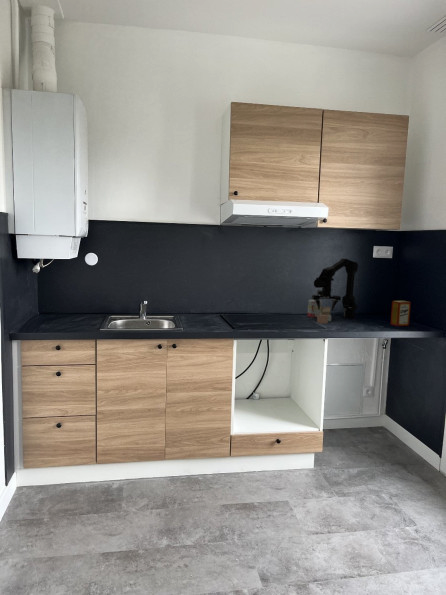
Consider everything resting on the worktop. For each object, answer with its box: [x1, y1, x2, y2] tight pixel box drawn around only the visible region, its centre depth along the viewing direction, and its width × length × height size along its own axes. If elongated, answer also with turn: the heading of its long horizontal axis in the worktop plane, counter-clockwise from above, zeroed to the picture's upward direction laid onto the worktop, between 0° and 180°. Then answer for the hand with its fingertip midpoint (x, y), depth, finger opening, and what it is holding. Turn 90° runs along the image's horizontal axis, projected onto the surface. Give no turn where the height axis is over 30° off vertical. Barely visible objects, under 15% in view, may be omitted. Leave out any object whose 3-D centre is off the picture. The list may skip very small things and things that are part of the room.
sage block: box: [319, 314, 332, 322], centre depth 308 cm, size 7×7×4 cm
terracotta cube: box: [316, 315, 329, 324], centre depth 296 cm, size 5×5×5 cm
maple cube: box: [321, 306, 331, 315], centre depth 307 cm, size 5×5×5 cm
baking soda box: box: [390, 300, 412, 327], centre depth 296 cm, size 10×6×16 cm
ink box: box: [307, 299, 323, 318], centre depth 320 cm, size 9×5×12 cm, turn 103°
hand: (325, 310), depth 307 cm, fingers open, 9 cm apart
